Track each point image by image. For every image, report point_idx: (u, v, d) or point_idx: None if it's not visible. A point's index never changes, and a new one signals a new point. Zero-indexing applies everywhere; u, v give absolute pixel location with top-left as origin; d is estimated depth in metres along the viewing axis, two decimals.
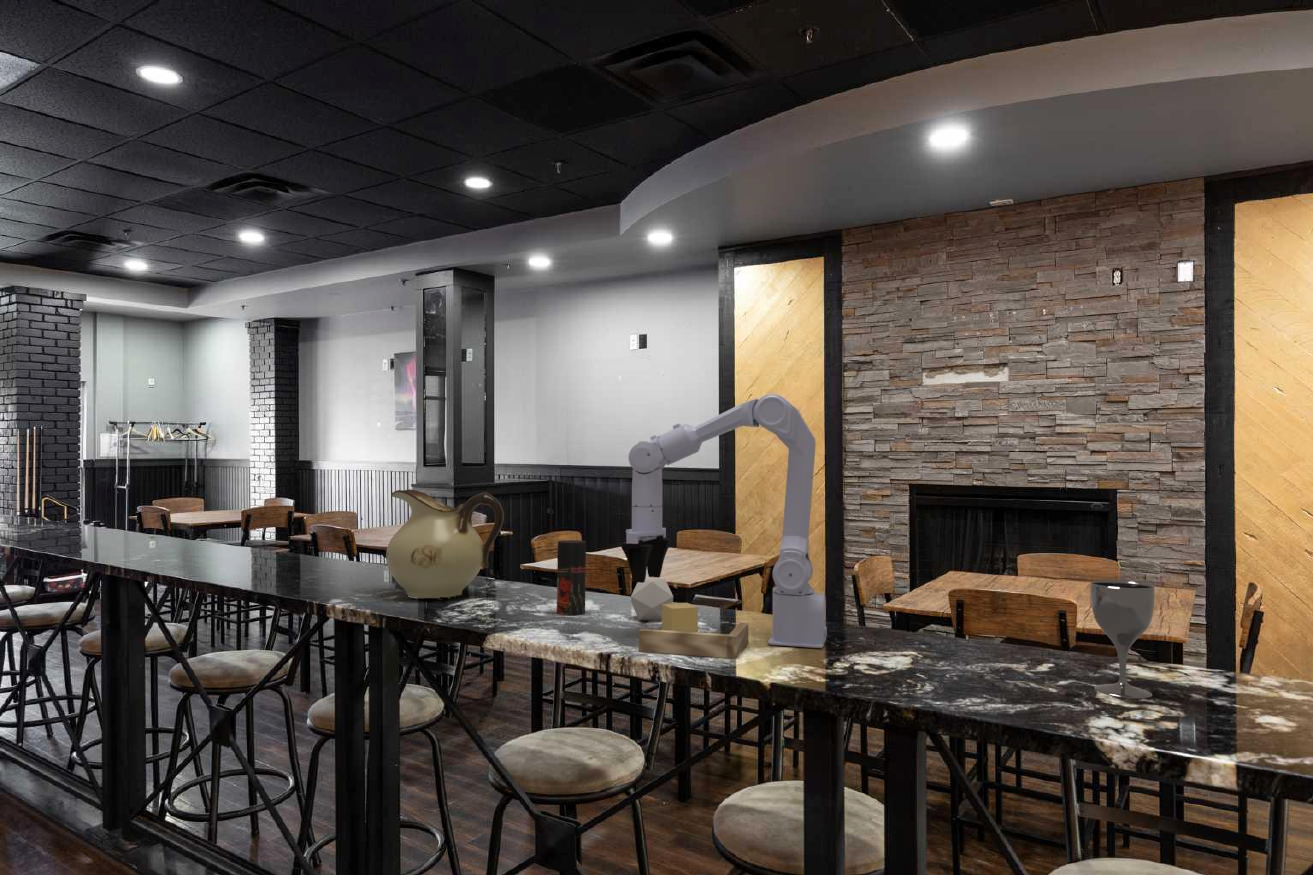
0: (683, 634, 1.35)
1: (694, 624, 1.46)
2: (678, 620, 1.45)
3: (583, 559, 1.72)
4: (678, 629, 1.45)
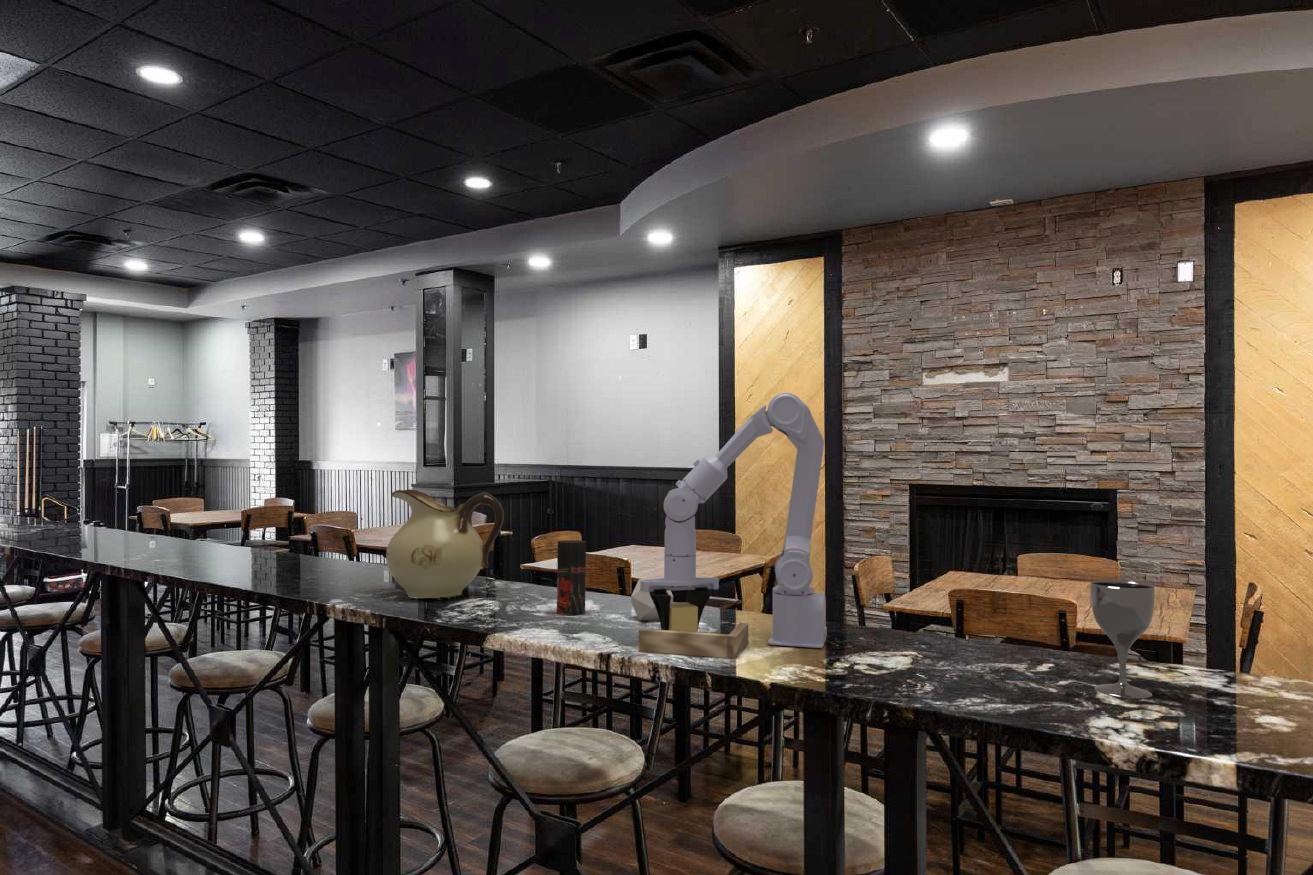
0: (683, 634, 1.35)
1: (694, 624, 1.46)
2: (678, 620, 1.45)
3: (583, 559, 1.72)
4: (678, 629, 1.45)
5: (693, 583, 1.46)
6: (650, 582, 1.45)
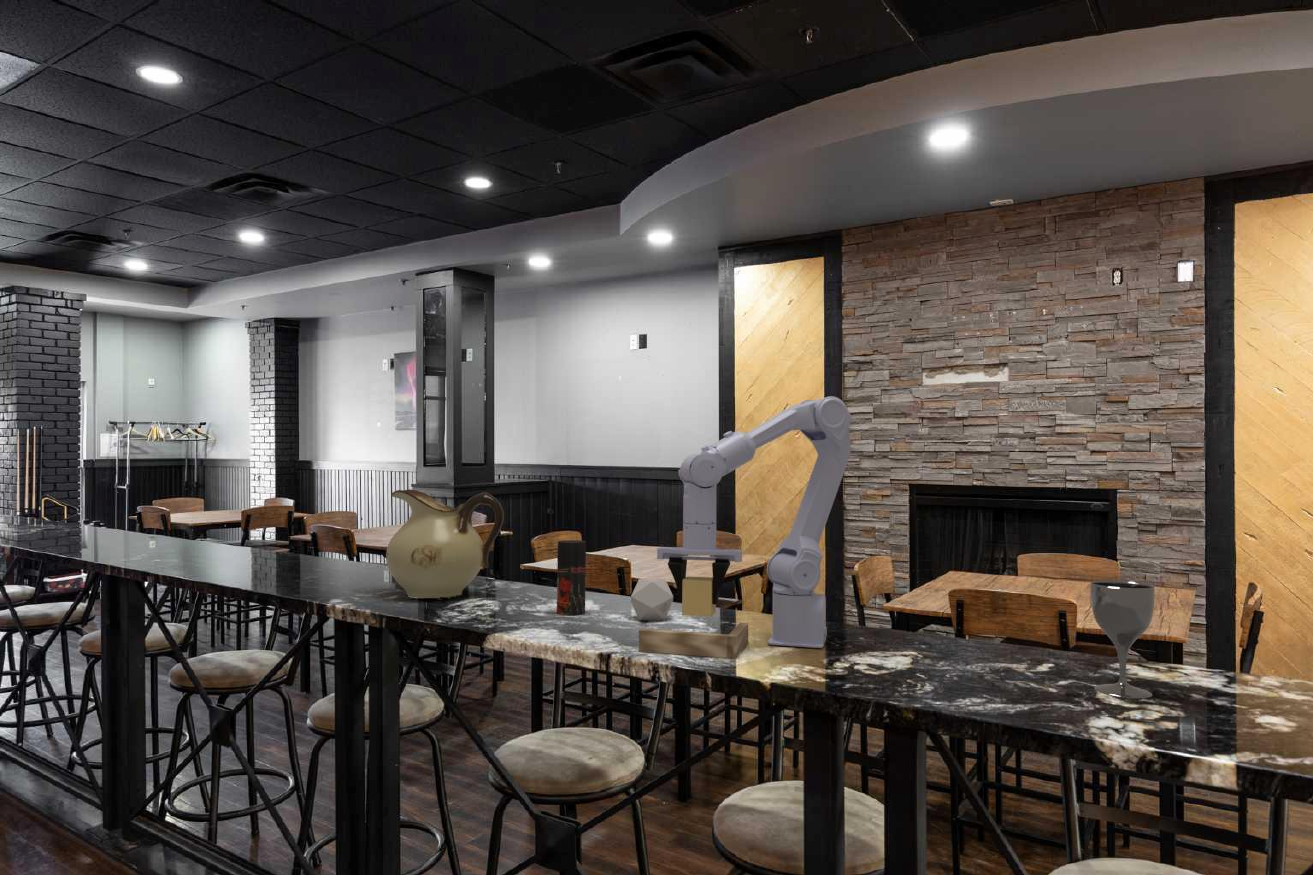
0: (683, 634, 1.35)
1: (707, 598, 1.38)
2: (689, 592, 1.39)
3: (583, 559, 1.72)
4: (689, 602, 1.39)
5: (705, 553, 1.38)
6: (663, 549, 1.41)
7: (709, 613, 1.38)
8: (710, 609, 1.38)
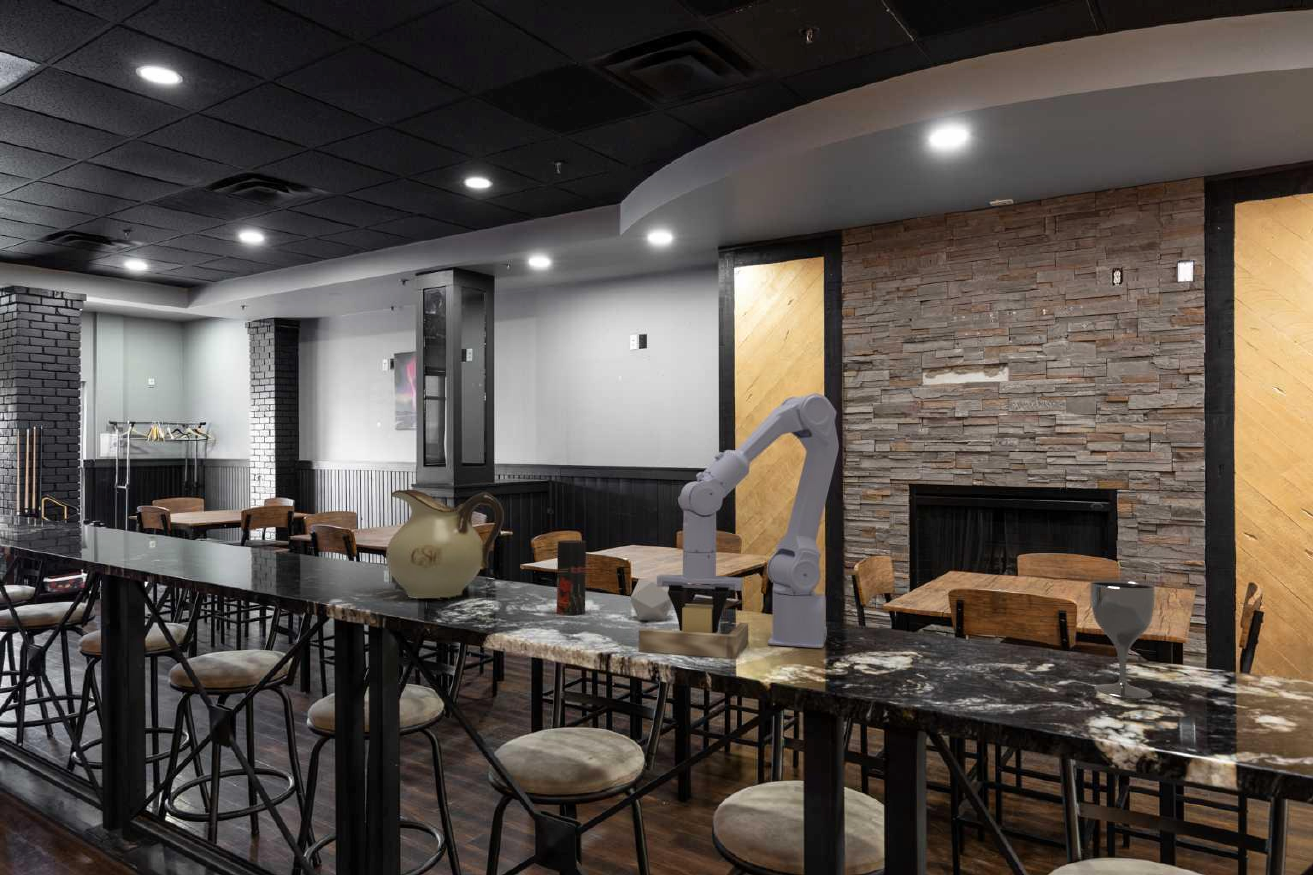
0: (683, 634, 1.35)
1: (707, 627, 1.38)
2: (689, 621, 1.39)
3: (583, 559, 1.72)
4: (689, 630, 1.39)
5: (705, 581, 1.38)
6: (663, 577, 1.41)
7: None
8: None
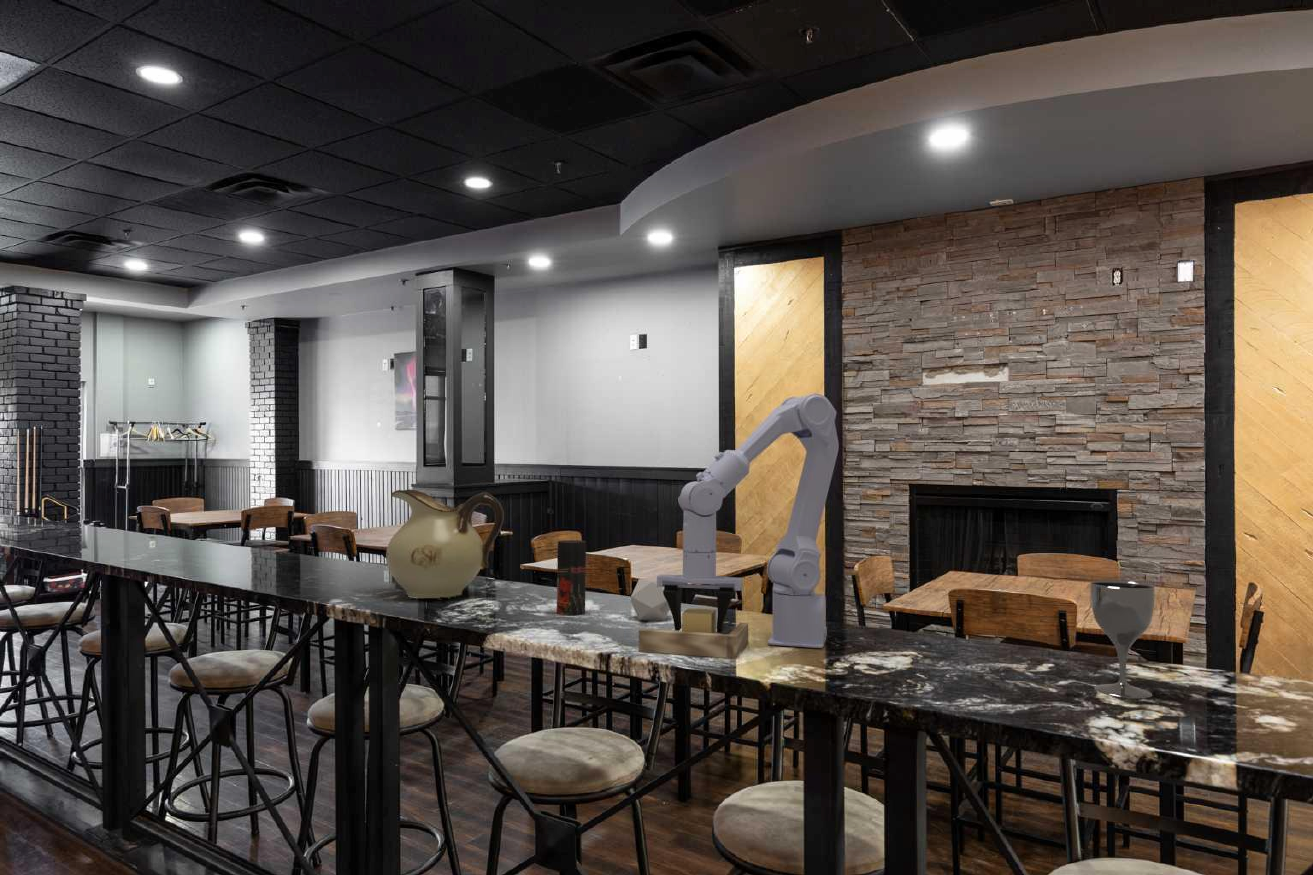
0: (683, 634, 1.35)
1: (707, 632, 1.38)
2: (689, 626, 1.39)
3: (583, 559, 1.72)
4: None
5: (705, 581, 1.38)
6: (663, 577, 1.41)
7: None
8: None
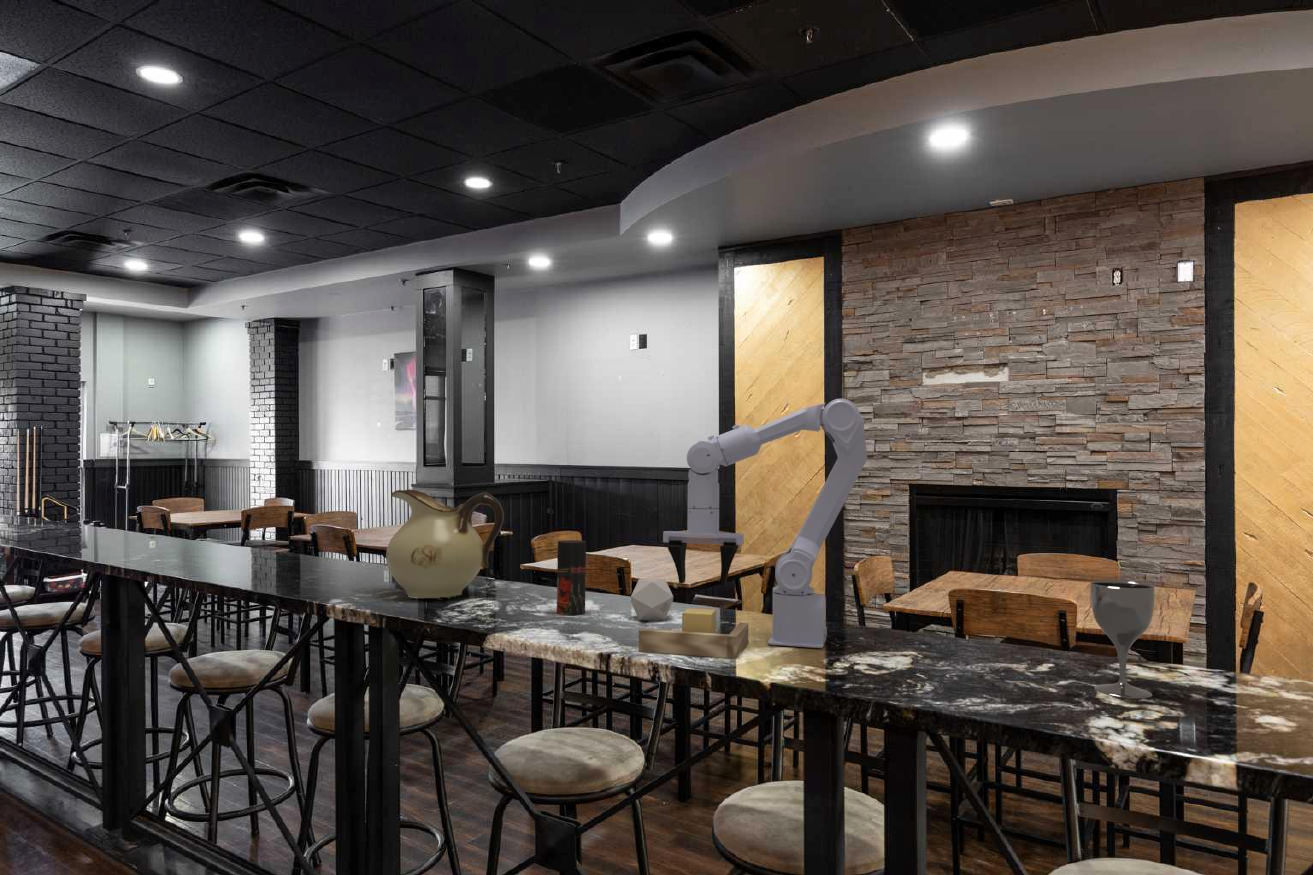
0: (683, 634, 1.35)
1: (707, 632, 1.38)
2: (689, 626, 1.39)
3: (583, 559, 1.72)
4: None
5: (708, 536, 1.46)
6: (669, 533, 1.49)
7: None
8: None
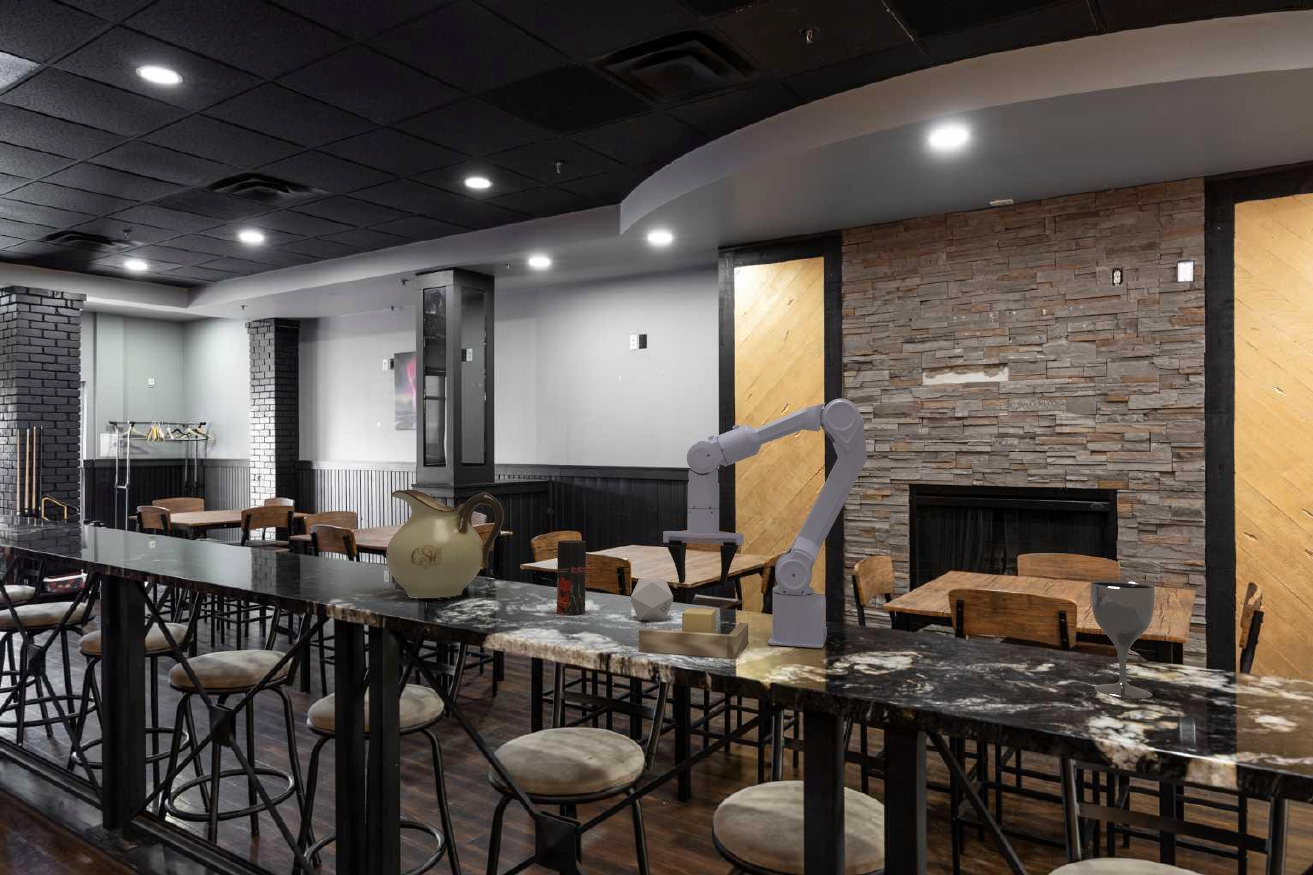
0: (683, 634, 1.35)
1: (707, 632, 1.38)
2: (689, 626, 1.39)
3: (583, 559, 1.72)
4: None
5: (708, 536, 1.46)
6: (669, 533, 1.49)
7: None
8: None
